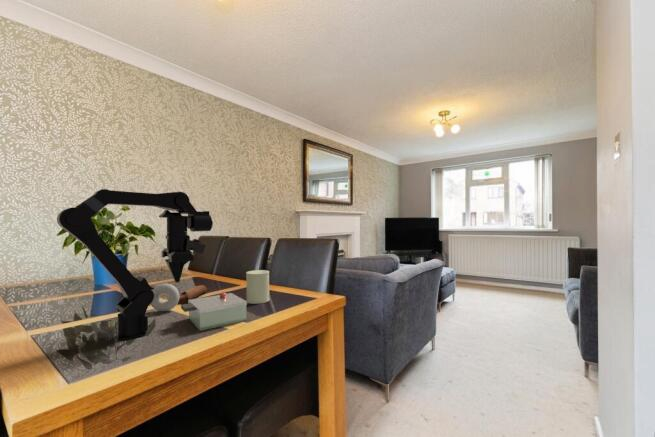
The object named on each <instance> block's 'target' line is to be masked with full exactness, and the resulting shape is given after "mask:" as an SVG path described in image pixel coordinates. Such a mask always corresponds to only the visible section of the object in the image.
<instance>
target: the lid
mask: <svg viewBox="0 0 655 437" xmlns="http://www.w3.org/2000/svg"><path fill="white" fill-rule="evenodd" d="M243 305H246V306H247V305H248V303H247V301H246V300H245V299H243V298H242V297H240V296H238V295H236V294H234V293H232V292H229V293H227V292H221V293H219V294H216V295H210V296H205V297H200V298H199V297H198V298H195V299H192V300H188V304H180V309H181V310H182V311H183V312H184V313H187V312H189V311H193V310H196V311H197V312H198V313H199V314H201V313H206V312H212V311H217V310H222V309H227V308H232V307H238V306H243Z"/></svg>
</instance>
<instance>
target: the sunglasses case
mask: <svg viewBox="0 0 655 437" xmlns="http://www.w3.org/2000/svg"><path fill="white" fill-rule="evenodd" d="M207 292H208V288H207V287H206V286H205V285H203V284H201V285H196V286H194V287H191V288H189V289H187V290H184V291H183V292H181V293H180V294H179V296H180V297H179V301H178V303H177V305H183V304H188V300H192V299H197V297H198V298H199V296H201V295H203V294H206V293H207Z"/></svg>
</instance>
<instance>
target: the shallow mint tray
mask: <svg viewBox="0 0 655 437" xmlns="http://www.w3.org/2000/svg"><path fill="white" fill-rule="evenodd" d="M188 320H190V322H191V323H192V324H193V325H194V326H195V327H196V328H197V329H198V330H199V332H201V331H205V330H210V329H211V330H212V329H215V328H219V327H224V326H229V325H232V324H233V325H234V324H238V323H241V322H246V321H247V305H243V306H238V307H232V308H227V309H222V310H217V311H212V312H206V313H201V314H199V313H198V312H197V311H196V310H193V311H188Z"/></svg>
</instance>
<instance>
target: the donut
mask: <svg viewBox="0 0 655 437" xmlns="http://www.w3.org/2000/svg"><path fill="white" fill-rule="evenodd" d="M153 288H154V289H153V290H152V291H153V293H154V299H153V301H152V303H151V304H150V307H152V308H153V309H154V310H156V311H158V312H169V311H171V310H172V309H173V310H174V309H175V307H177V305H178V304H177V303H178V301H179V297H180V296H179V295H180V291H179V289H178V288H177V287H176V286H175V285H173V284H171V283H166V282H165V283H160V284H157V285H156V286H154V287H153ZM162 294H166V295H167V296H168V300H166V301H163V300H162V299H161V296H162Z"/></svg>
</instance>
